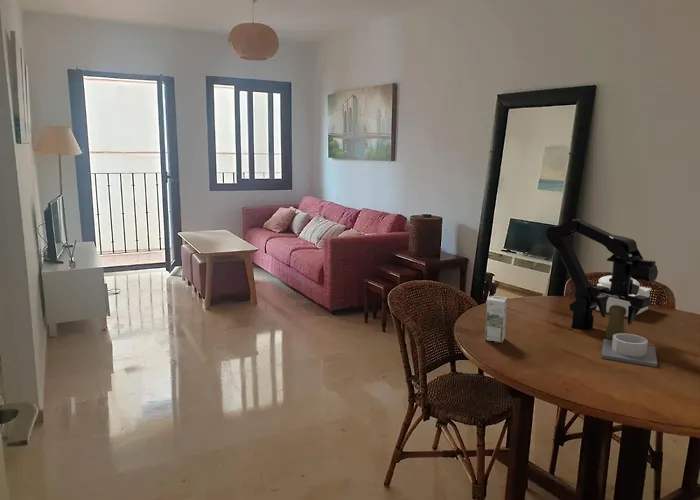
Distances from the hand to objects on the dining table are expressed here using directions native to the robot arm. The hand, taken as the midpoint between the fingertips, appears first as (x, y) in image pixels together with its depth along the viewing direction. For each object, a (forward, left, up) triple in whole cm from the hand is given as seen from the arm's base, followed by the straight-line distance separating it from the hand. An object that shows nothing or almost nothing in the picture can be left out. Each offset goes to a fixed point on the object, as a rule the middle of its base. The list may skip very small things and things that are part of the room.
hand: (616, 320), depth 183 cm
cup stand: (+4, -15, -6) cm, 17 cm away
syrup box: (-36, -22, -6) cm, 43 cm away
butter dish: (0, +38, -6) cm, 38 cm away
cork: (0, 0, -6) cm, 6 cm away
